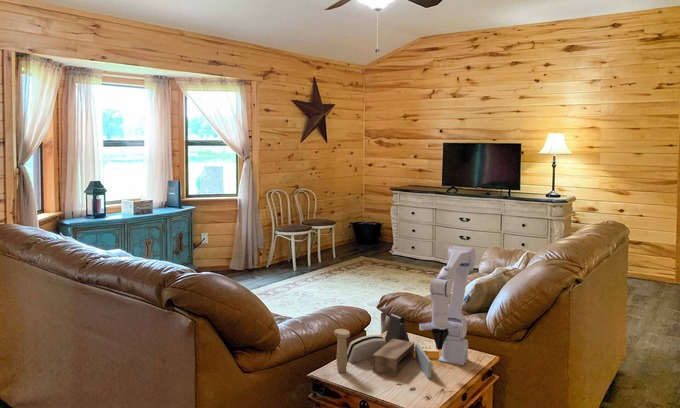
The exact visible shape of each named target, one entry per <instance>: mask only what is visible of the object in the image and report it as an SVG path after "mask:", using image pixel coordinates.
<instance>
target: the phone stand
mask: <svg viewBox="0 0 680 408" xmlns="http://www.w3.org/2000/svg"><path fill="white" fill-rule="evenodd" d="M405 320H406V319H405V317H404V316H402V315H399V314H396V313H391V314H390V315H389V323H388V327H387V331H386V333H385V338H384V339H385V341H386V344H387V343H388V342H389V341H390V340H391V339H399V340H404V341H410V339H409V334H408V331H407V327H406V321H405Z"/></svg>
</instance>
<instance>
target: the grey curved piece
mask: <svg viewBox="0 0 680 408" xmlns="http://www.w3.org/2000/svg"><path fill="white" fill-rule="evenodd" d="M385 344H386V341H385V338H384V337H383V335H380V334H369V335H364V336H361V337H358V338H356V339H354V340H352V341H351V342H350V343H349V345H348V347H347V363H354V362H359V361H363V360H366V359H371V358H373V354H374V353H376V352H377V351H378V350H379V349H380V348H382V347H383V346H384V345H385Z"/></svg>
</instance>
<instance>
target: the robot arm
mask: <svg viewBox="0 0 680 408" xmlns="http://www.w3.org/2000/svg"><path fill="white" fill-rule="evenodd" d="M476 251H477V250H476V249H475V248H474V247H468V246H467V247H466V246H458V245H457V246H456V245H450V246H449V247H448V250H447V260H448V261H447V264H446V266H442V267H441V269H440V271H439V272H438V275H437V277H436V278H434V279H432V280H431V281H430V284H429V292H430V298H431V303H432V304H431V322H430V321H429V322H425V323H418V325H419V326H418V327H419V328H418V329H419V331H421V332H423V331H431V334H432V335H433V339H434V343H435V348H436V350H438V351H441V350H442V351H441V356H440V357H439V358H438V361H439V362H442V363H443V362H444V363H449V364H453V365H459V366H464V365H465V363H466V362H467V361H468V359H469V354H468V353H469V341H468V339H465V337H466V335H467V331H468V330H467V329H468V320H467V318H466V316H465V315H464V314H463V313H462V310H463V305H464V299H465V293H466V287H467V281H468V278H469V273H470V272H472V271H474V267H475V264H476V257H477V255H476ZM450 295H451V296H450ZM449 298H450V302H449Z"/></svg>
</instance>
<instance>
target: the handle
mask: <svg viewBox="0 0 680 408" xmlns="http://www.w3.org/2000/svg"><path fill="white" fill-rule="evenodd" d="M333 330H334V331H333V333H334V336H335V337H336V339H337V345H336V346H337V347H336V368H337V372H338V373H341V374H343V373H346V372H347V367H348V359H347V350H348V347H347V346H348V345H347V343H348V341H347V339H348V338H350V337H351V333H350V331H349V330H348V329H344V328H336V329H333Z"/></svg>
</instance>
